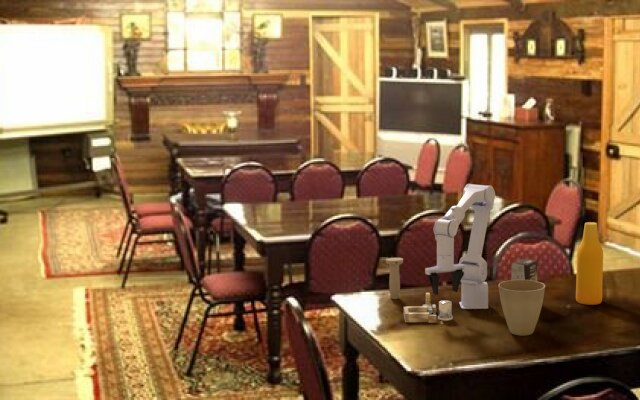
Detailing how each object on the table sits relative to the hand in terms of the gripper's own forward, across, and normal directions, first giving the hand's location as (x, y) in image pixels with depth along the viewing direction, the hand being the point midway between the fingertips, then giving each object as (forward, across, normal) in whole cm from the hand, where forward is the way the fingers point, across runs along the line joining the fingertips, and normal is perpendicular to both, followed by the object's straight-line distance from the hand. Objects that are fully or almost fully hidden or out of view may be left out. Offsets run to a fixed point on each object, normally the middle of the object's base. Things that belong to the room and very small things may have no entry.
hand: (445, 292), depth 321 cm
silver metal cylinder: (+9, 0, 0) cm, 9 cm away
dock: (+9, +6, -6) cm, 13 cm away
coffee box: (+10, -34, -3) cm, 35 cm away
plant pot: (+10, -15, +24) cm, 30 cm away
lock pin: (+8, +1, -10) cm, 13 cm away
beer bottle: (+10, -57, +4) cm, 58 cm away
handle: (+10, +4, -31) cm, 33 cm away
